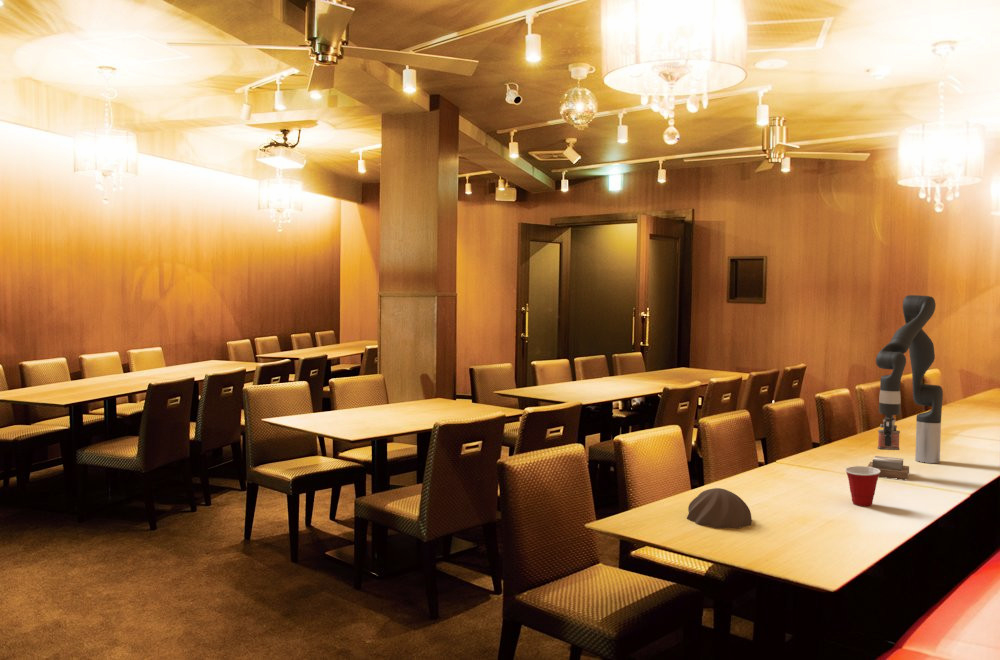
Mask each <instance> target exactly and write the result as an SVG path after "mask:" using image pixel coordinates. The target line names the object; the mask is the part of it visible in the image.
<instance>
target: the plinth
mask: <svg viewBox="0 0 1000 660" xmlns="http://www.w3.org/2000/svg"><path fill="white" fill-rule="evenodd" d="M866 467H873V468H877V469H879V470H880V473H879V477H878V478H882V477H887V478H886V479H891V478H897V479H896V480H899V479H907V480H908V478H909V475H910V465H904V458H898V457H888V456H878V455H875V456H874V457H873V459H872V461H870V462H869V463H868V465H867V466H866ZM908 474H909V475H908ZM907 477H908V478H907Z"/></svg>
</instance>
